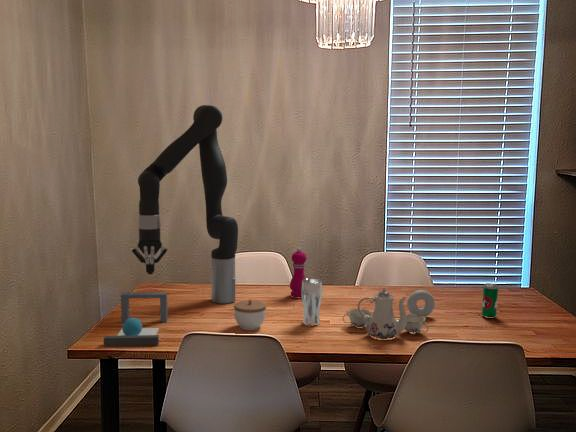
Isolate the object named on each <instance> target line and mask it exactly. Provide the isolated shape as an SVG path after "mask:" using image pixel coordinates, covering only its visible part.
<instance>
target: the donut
mask: <svg viewBox="0 0 576 432" xmlns="http://www.w3.org/2000/svg"><path fill="white" fill-rule="evenodd" d="M420 300H422V301H424V306H423V307H418V301H420ZM435 305H436V303H435V298H434V296H433V295H432V293H430V292H429V291H427V290H423V289H418V290H415V291H413V292H412V293H411V294H409V296H408V298H407V300H406V307H407V310H408V312H409V314H416V315H417V316H418V317H419V316H424V317H425V316H426V317H428V316H429V315H431V313H433V311H434V310H435ZM426 317H425V318H426Z"/></svg>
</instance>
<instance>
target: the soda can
mask: <svg viewBox="0 0 576 432" xmlns="http://www.w3.org/2000/svg"><path fill="white" fill-rule="evenodd" d="M498 298H499V287H498V284H495V283H492V282H491V283H490V282H489V283H484V285H483V287H482V301H481V304H482V305H481V316H482V315H484V316H487V317H495V316H497V315H498V314H497V313H498V300H499V299H498Z"/></svg>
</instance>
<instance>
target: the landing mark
mask: <svg viewBox="0 0 576 432" xmlns="http://www.w3.org/2000/svg"><path fill="white" fill-rule="evenodd" d="M159 329H160V328H159V327H142V330H141V332H140V334H139V335H158V332H159ZM116 336H126V335H125V334H124V333H123V330H122V328H121V329H120V331H119V332H118V334H116Z"/></svg>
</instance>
